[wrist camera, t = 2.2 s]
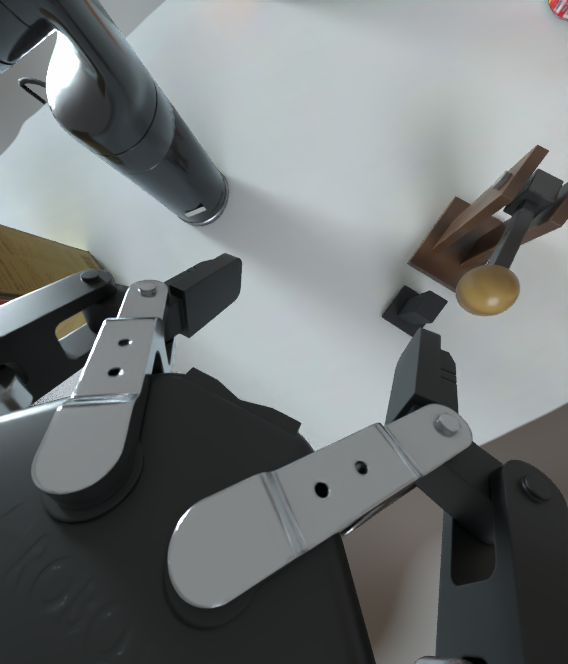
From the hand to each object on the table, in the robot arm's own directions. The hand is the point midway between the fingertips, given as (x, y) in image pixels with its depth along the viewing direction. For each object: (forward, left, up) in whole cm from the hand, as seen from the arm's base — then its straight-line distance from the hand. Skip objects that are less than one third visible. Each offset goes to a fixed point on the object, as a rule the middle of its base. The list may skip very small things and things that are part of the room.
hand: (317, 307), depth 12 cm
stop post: (+8, +8, -28) cm, 30 cm away
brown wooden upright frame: (+8, +18, -28) cm, 34 cm away
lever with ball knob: (+8, +12, -13) cm, 20 cm away
